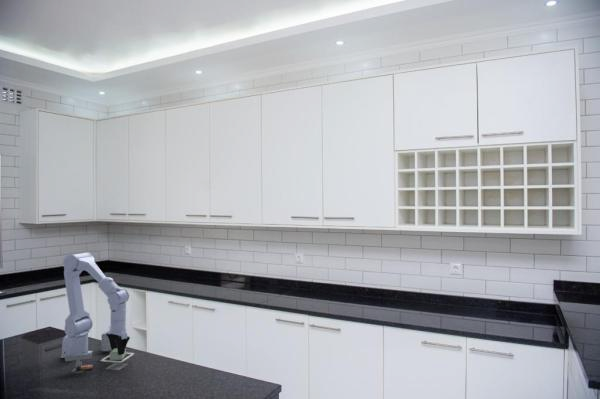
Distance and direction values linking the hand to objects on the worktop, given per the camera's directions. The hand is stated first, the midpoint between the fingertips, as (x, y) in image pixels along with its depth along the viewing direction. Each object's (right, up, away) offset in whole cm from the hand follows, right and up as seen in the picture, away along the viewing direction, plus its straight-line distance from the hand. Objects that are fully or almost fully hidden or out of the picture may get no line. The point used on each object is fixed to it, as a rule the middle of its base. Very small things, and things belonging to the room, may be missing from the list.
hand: (117, 351), depth 162 cm
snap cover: (0, -3, 0) cm, 3 cm away
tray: (0, -4, 0) cm, 4 cm away
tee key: (-9, -2, -13) cm, 16 cm away
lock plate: (-4, -3, -11) cm, 12 cm away
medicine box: (-7, -4, +9) cm, 12 cm away
